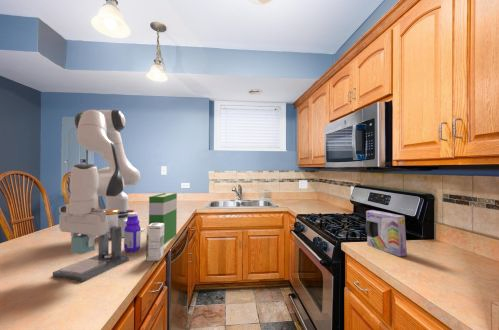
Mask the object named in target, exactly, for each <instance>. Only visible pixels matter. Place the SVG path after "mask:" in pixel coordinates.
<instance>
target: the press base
mask: <svg viewBox="0 0 499 330" xmlns="http://www.w3.org/2000/svg"><path fill="white" fill-rule="evenodd" d="M121 230H122V227H114V228H112V233H111V241H107V233H106V234H104V235H101V236H98V252H97V253H98V254H97V255H94V256H92V257H89V258H86V259H82V260H79V261H77V262H73V263H72V264H70V265H67V266H64V267H62V268H59V269H58V270H54V271H53V272H52V277H53V278H58V279H63V280H68V281H73V282H77V283H78V282H79V283H83V282H86V281H88V280H91V279H92V278H94V277H96V276H99V275H100V274H103V273H105V272H107V271H109V270H111V269H113V268H115V267H118V266H120V265H122V264H124V263H127V262H128V261H130V256H127V255H122V238H121ZM110 242H111V249H110V250H111V251H110V253H109V243H110Z"/></svg>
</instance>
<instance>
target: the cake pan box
mask: <svg viewBox="0 0 499 330" xmlns="http://www.w3.org/2000/svg"><path fill="white" fill-rule="evenodd" d="M365 219H366V220H365V233H366V237H367V238H366V241H367V242H366V243H367V246H369V247H372V248H375V249H378V250H381V251H383V252H385V253H388V254H391V255H394V256H397V257H407V256H408V253H407V252H408V250H407V236H406V235H407V234H406V221H405V220H406V217H405V215H401V214H395V213H390V212H385V211H380V210H374V209H370V210H366V211H365Z"/></svg>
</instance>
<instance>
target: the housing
mask: <svg viewBox="0 0 499 330" xmlns="http://www.w3.org/2000/svg"><path fill="white" fill-rule="evenodd" d="M88 240H89V238H88V235H87V234H78V236H75V237H71V245H70V248H71V250H70V253H72V254H77V255H78V254H79V255H83V254H87V253H89V252H93V251H94V250H95V245H96V244H95V242H96V241H95V240H96V239H95V240H94V245H93V246H91V247H87V246H86V242H88Z"/></svg>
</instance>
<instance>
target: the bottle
mask: <svg viewBox="0 0 499 330" xmlns="http://www.w3.org/2000/svg"><path fill="white" fill-rule="evenodd" d="M138 216H139V215H138V212H135V211H134V212H131V213H128V219H127V221H126V227H125V229H124V237H123V238H124V239H123V249H124V251H126V252H129V253H133V252H137V251H139V250H140V249H141V232H142V231H141V228H142V227H141V225H140V226H139V222H140V220H139V217H138ZM140 227H141V228H140Z"/></svg>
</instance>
